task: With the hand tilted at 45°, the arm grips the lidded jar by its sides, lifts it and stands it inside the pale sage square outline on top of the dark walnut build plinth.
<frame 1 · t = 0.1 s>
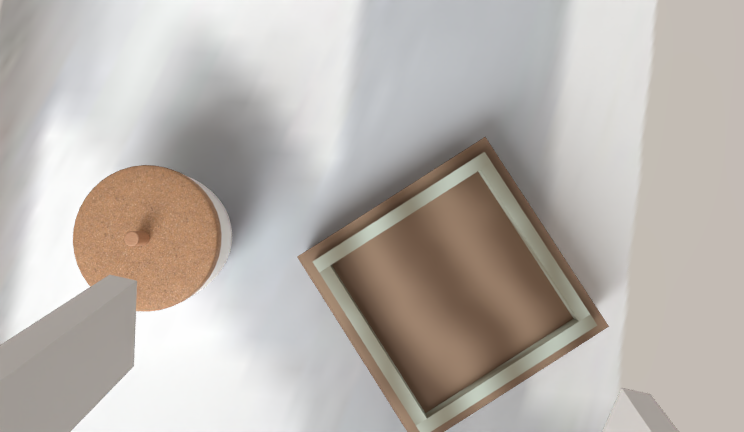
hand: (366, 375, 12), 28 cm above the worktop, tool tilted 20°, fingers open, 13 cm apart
lidded jar: (190, 236, 40), on the worktop
build plinth: (444, 284, 40), on the worktop
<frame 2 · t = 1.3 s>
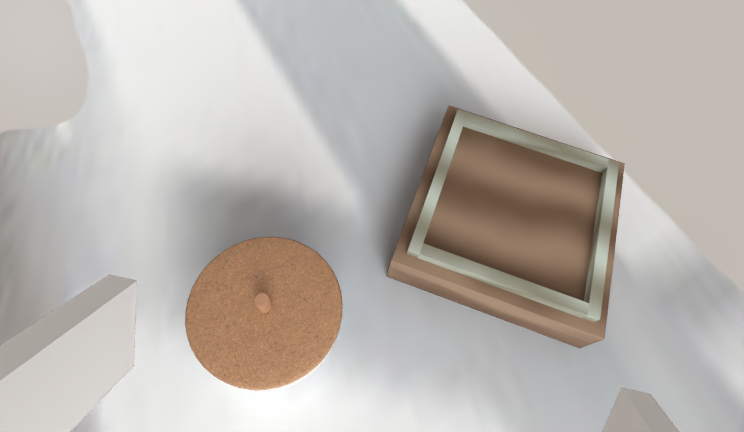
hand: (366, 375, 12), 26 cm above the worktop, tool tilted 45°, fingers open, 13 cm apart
lidded jar: (277, 331, 38), on the worktop
build plinth: (502, 226, 44), on the worktop
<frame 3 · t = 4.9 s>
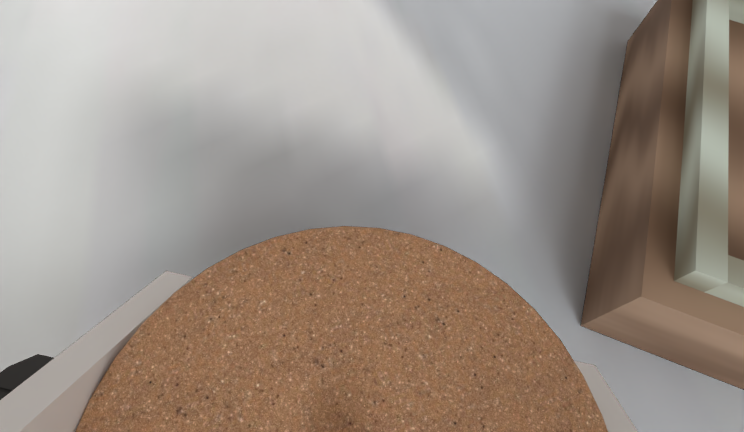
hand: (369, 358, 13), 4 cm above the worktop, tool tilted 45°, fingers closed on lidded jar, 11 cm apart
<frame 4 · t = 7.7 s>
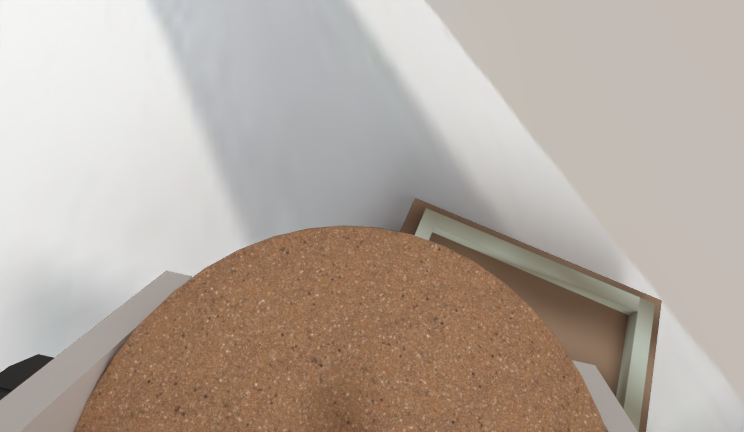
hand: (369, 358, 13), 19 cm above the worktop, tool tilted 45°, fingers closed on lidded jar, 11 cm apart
build plinth: (480, 379, 31), on the worktop
when the fingers open (10 cm above the worktop, at t = 10.7 s): lidded jar drops 2 cm, resting on build plinth.
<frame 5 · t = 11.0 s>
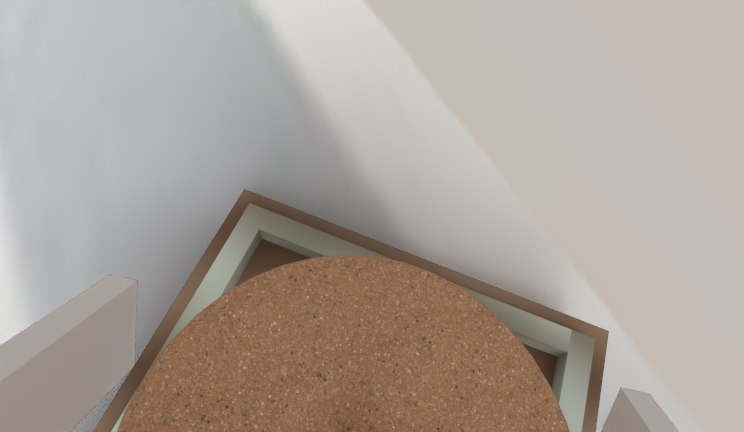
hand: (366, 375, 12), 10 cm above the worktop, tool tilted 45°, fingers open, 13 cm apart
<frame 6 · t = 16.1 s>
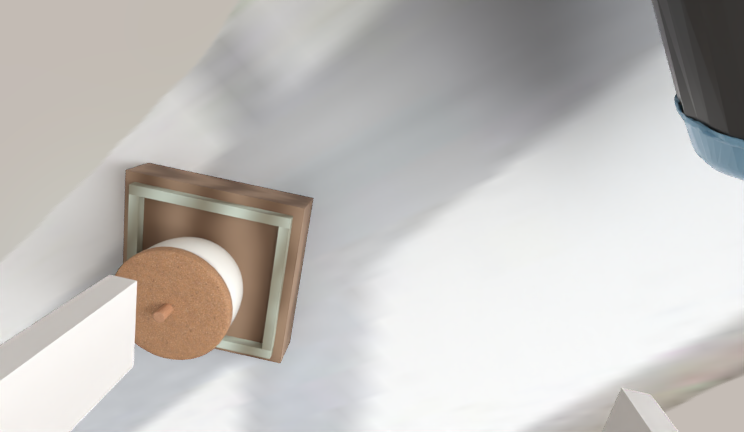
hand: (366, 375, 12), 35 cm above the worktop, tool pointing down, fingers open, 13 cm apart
lidded jar: (208, 270, 46), point 4 cm above the worktop, touching build plinth
build plinth: (222, 257, 50), on the worktop
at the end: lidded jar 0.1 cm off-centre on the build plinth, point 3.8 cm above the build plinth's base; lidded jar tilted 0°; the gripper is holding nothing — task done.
